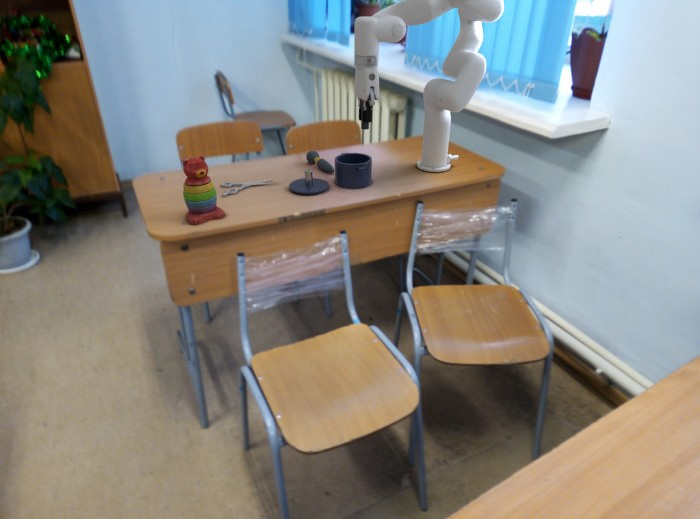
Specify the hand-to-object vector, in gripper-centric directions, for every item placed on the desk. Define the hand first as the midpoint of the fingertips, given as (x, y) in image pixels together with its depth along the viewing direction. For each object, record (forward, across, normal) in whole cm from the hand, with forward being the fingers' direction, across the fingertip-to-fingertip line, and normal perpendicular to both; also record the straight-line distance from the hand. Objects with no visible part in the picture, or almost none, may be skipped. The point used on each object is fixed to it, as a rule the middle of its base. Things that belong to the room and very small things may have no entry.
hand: (365, 120), depth 157 cm
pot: (+21, +1, +4) cm, 22 cm away
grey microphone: (+22, +20, +9) cm, 31 cm away
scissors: (+22, +11, +38) cm, 45 cm away
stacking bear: (+22, -8, +56) cm, 60 cm away
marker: (+3, 0, 0) cm, 3 cm away
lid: (+21, +2, +20) cm, 29 cm away
